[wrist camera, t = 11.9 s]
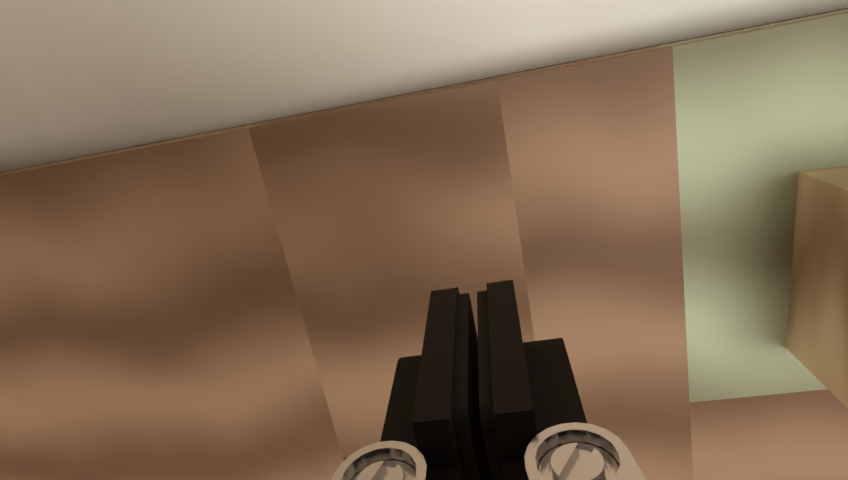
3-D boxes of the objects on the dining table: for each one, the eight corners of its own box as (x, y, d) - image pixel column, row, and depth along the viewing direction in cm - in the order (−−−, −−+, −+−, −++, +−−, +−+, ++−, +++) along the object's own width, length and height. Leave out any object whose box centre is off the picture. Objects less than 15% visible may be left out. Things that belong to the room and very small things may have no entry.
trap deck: (-132, 197, 23) (-203, 214, 20) (1458, -110, 15) (1644, -141, 12) (86, 617, 30) (53, 665, 28) (1227, 562, 22) (1316, 624, 20)
